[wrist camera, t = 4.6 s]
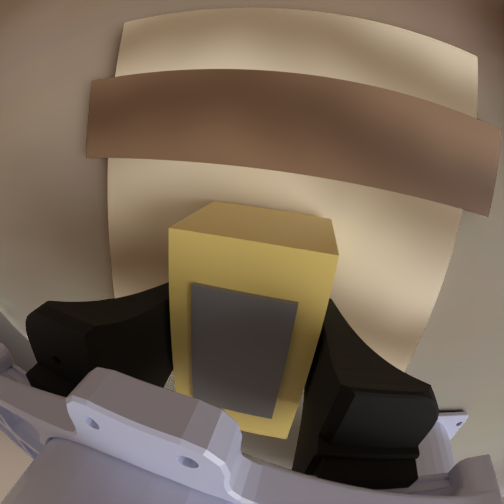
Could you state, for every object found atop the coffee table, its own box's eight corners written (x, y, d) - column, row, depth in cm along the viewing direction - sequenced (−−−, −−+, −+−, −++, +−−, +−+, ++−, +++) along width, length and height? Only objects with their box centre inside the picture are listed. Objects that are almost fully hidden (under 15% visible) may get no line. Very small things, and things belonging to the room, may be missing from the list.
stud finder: (295, 376, 14) (285, 442, 10) (207, 357, 15) (176, 416, 11) (331, 218, 11) (339, 258, 7) (214, 201, 12) (165, 229, 8)
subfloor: (407, 391, 15) (410, 402, 14) (111, 331, 18) (103, 339, 17) (492, 72, 8) (502, 69, 7) (112, 33, 11) (101, 28, 10)
